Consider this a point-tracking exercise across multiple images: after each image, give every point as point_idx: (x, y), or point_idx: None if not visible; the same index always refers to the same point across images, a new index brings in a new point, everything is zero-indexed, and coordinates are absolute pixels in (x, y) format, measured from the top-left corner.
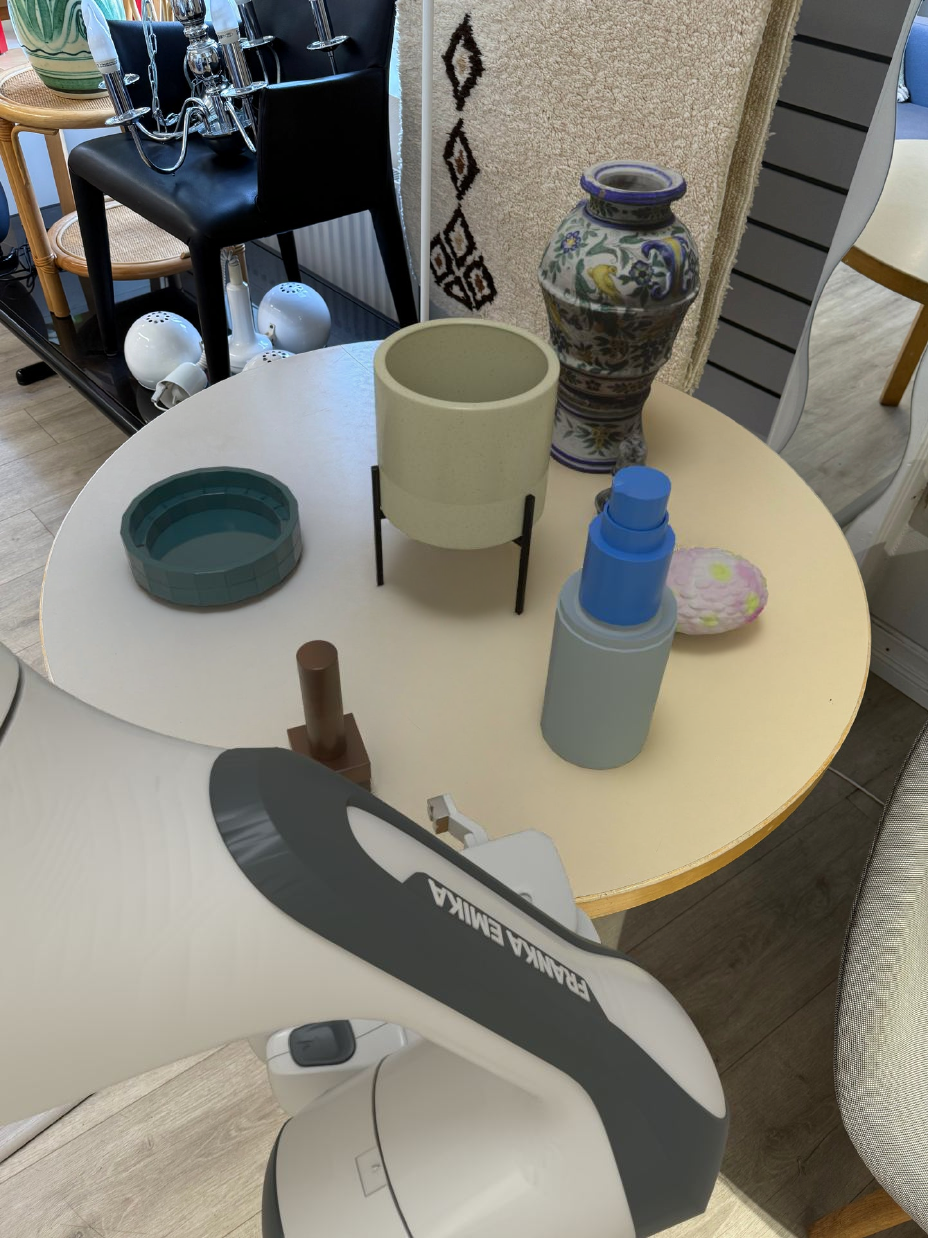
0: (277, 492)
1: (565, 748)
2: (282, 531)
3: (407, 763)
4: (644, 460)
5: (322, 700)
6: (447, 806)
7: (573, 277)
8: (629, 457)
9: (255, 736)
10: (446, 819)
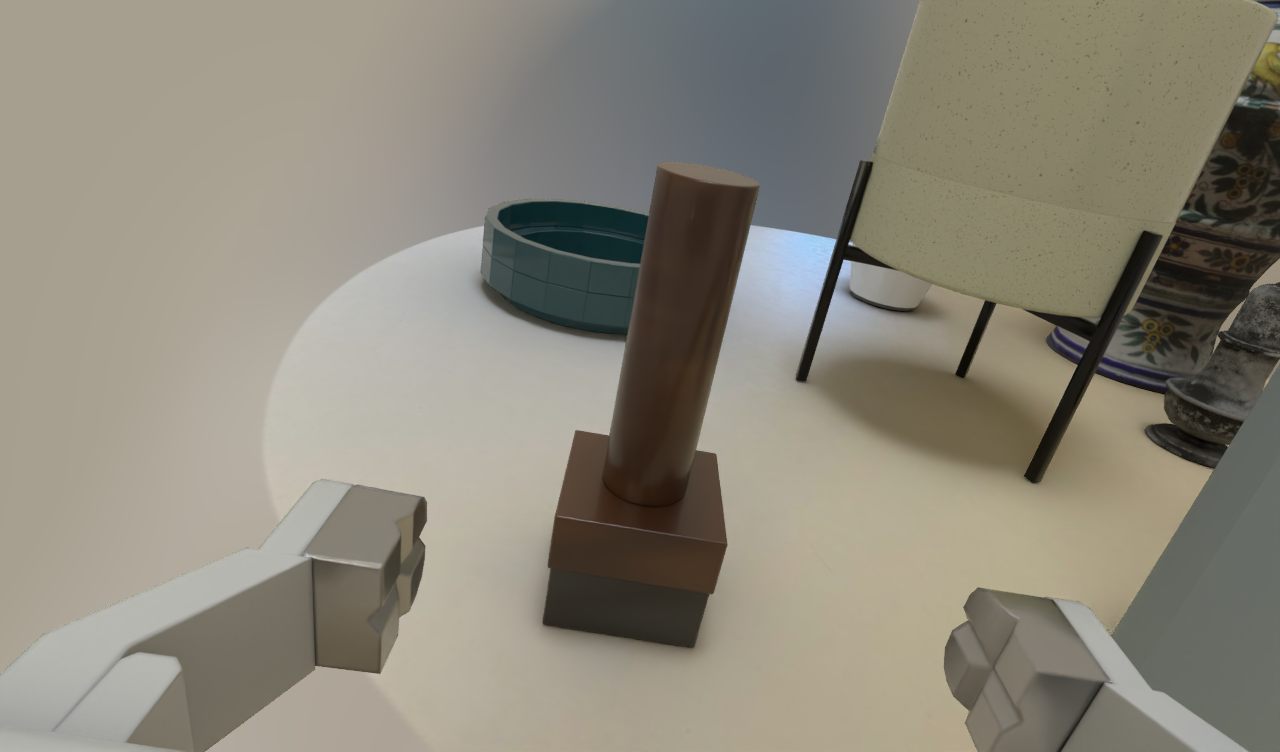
0: None
1: None
2: None
3: (791, 618)
4: None
5: (679, 298)
6: (1087, 642)
7: None
8: (1275, 305)
9: (521, 466)
10: (1078, 700)
